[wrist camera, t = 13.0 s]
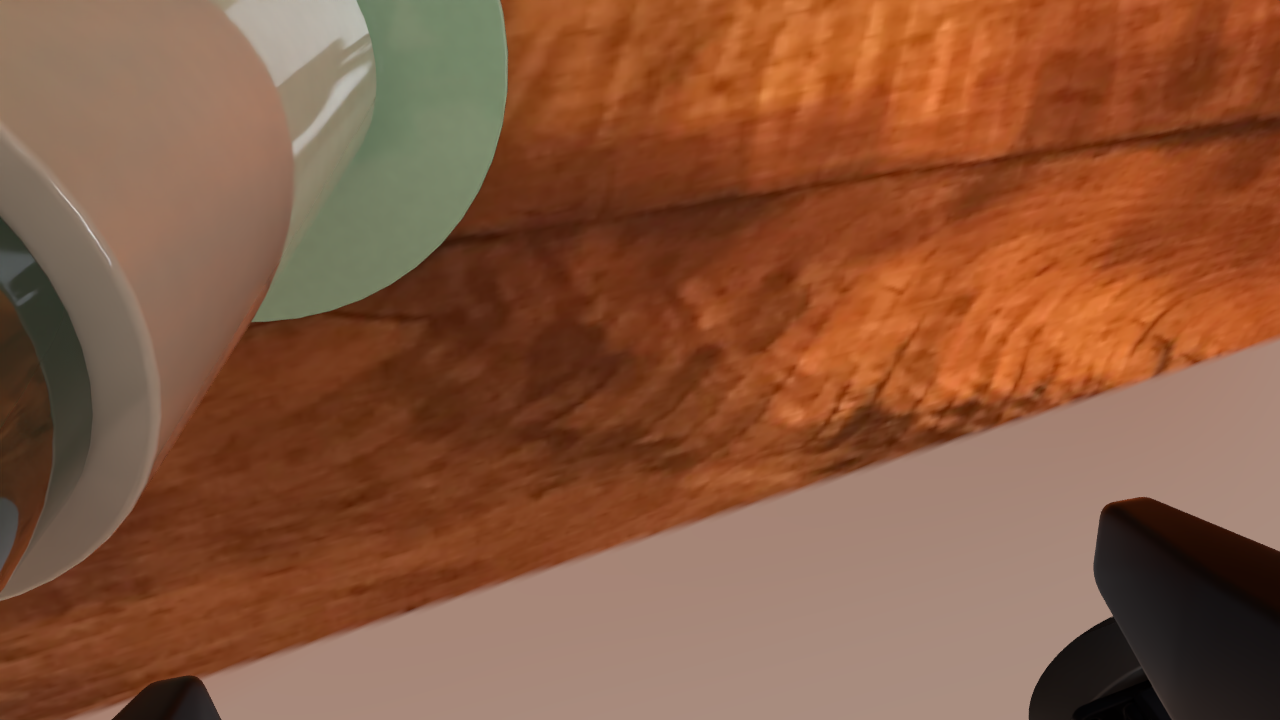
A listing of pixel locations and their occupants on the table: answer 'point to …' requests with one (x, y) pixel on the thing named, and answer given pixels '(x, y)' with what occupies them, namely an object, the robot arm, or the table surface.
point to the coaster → (406, 153)
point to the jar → (147, 231)
